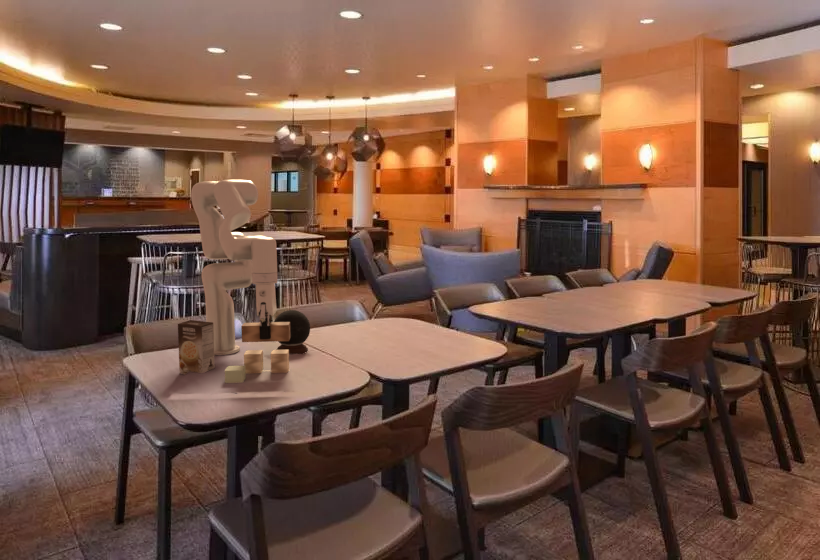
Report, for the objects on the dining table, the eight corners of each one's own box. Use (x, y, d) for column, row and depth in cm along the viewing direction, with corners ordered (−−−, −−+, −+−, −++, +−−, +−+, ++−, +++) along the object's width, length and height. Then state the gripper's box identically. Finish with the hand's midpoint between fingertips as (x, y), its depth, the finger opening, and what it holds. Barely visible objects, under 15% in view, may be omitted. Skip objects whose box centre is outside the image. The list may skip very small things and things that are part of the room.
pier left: (244, 373, 185) (243, 354, 184) (247, 369, 190) (246, 350, 189) (261, 373, 185) (260, 354, 185) (263, 368, 190) (262, 350, 190)
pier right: (271, 372, 186) (270, 353, 185) (273, 368, 191) (272, 349, 190) (287, 372, 186) (287, 353, 185) (289, 368, 191) (288, 349, 190)
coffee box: (178, 374, 188) (175, 323, 186) (192, 368, 194) (189, 319, 192) (203, 377, 185) (200, 325, 183) (216, 371, 191) (214, 321, 189)
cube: (225, 387, 176) (224, 370, 175) (228, 382, 181) (228, 365, 180) (242, 387, 176) (242, 370, 176) (245, 381, 181) (245, 365, 181)
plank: (242, 342, 183) (241, 325, 183) (244, 338, 188) (244, 322, 188) (289, 341, 185) (288, 325, 184) (290, 337, 190) (290, 321, 189)
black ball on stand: (273, 357, 209) (272, 314, 207) (272, 348, 222) (271, 307, 220) (312, 354, 213) (311, 312, 211) (309, 346, 225) (308, 306, 223)
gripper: (273, 281, 176) (275, 342, 178) (280, 274, 193) (281, 330, 195) (247, 281, 175) (249, 343, 178) (256, 275, 192) (258, 331, 195)
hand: (266, 336), depth 186 cm, fingers closed on plank, 5 cm apart
